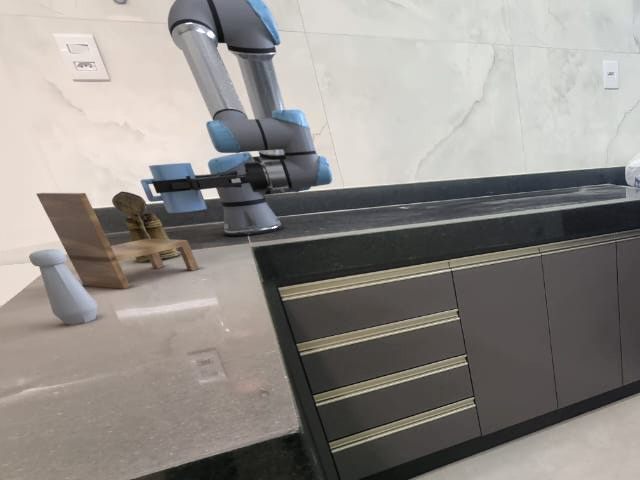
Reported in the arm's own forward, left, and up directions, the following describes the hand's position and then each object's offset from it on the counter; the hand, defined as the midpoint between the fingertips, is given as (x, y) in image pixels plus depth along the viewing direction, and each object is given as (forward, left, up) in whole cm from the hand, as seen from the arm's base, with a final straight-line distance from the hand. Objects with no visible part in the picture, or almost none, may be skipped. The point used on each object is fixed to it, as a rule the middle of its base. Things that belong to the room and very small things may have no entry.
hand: (155, 185), depth 128 cm
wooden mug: (0, -11, -19) cm, 22 cm away
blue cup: (-2, +2, -6) cm, 7 cm away
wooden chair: (+13, +5, -19) cm, 23 cm away
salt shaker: (+37, +28, -19) cm, 50 cm away
